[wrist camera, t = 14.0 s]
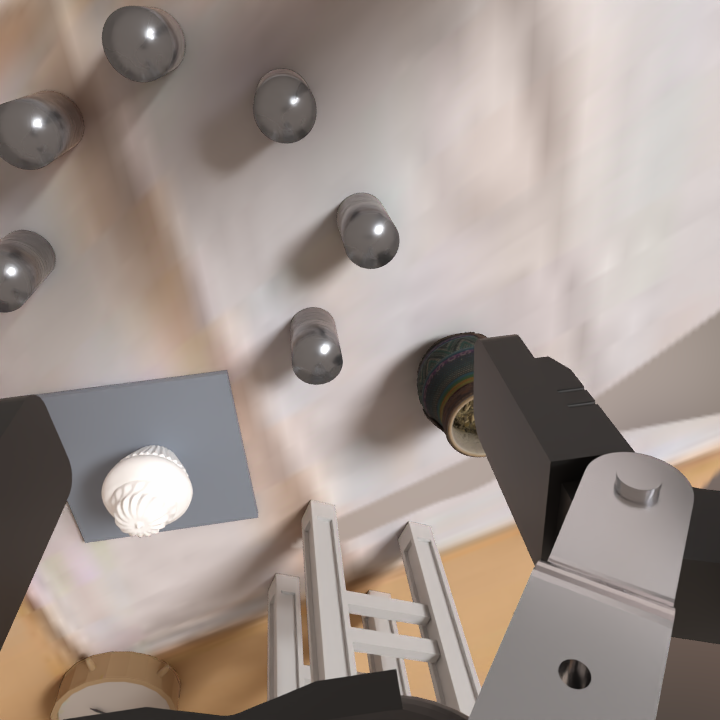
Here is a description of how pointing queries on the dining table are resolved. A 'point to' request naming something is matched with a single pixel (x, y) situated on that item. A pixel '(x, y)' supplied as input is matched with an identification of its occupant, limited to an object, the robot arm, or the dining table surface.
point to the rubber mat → (155, 427)
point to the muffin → (147, 491)
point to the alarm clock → (116, 685)
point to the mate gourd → (451, 390)
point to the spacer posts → (274, 118)
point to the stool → (367, 618)
